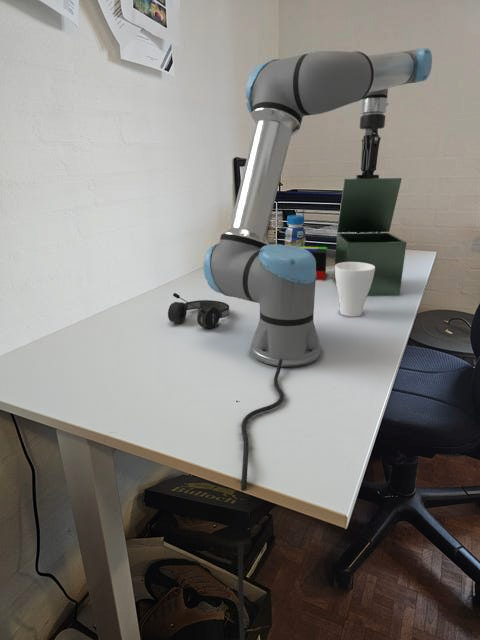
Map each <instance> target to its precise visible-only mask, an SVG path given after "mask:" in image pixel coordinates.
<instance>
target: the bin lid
mask: <svg viewBox="0 0 480 640" xmlns="http://www.w3.org/2000/svg"><path fill="white" fill-rule="evenodd" d="M401 184H402V177H386V178H385V177H384V178H383V177H382V178H381V177H380V175H379V174H373V178H371V179H364V175H362V174H356V175H355V178H344V179H343V185H342V186H343V187H342V194H341V201H340V207H339V208H340V209H339V215H338V221H337V228H336V233H339V234H340V233H390V230H391V226H392V222H393V218H394V213H395V210H396V209H395V208H396V204H397V200H398V196H399V193H400V187H401Z"/></svg>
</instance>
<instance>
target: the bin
mask: <svg viewBox="0 0 480 640" xmlns="http://www.w3.org/2000/svg"><path fill="white" fill-rule="evenodd" d="M335 245H336V246H335V256H334V257H335V259H334V266H335V265H336V264H338V263H342V262H362V263H368V264H371V265H374V266H375V272H374V277H373V280H372V284H371V287H370V290H369V292H368V295H367V296H400V294H401V286H402V279H403V272H404V264H405V257H406V250H407V241H405V240H403V239H402V238H399V237H398V236H396V235H393V234H391V232H339V233H338V232H336V243H335ZM333 281H334V283H335V284H336V278H335V270H334V274H333Z"/></svg>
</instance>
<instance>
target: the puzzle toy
mask: <svg viewBox="0 0 480 640" xmlns="http://www.w3.org/2000/svg"><path fill="white" fill-rule="evenodd" d="M300 248H303V249H305V250H307V251H309V252H310V253H312V255H313V256H314V258H315V261H316V275H317V277H316V281H325V279H326V273H327V260H328V246H327V247H326V246H305V247H300Z"/></svg>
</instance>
